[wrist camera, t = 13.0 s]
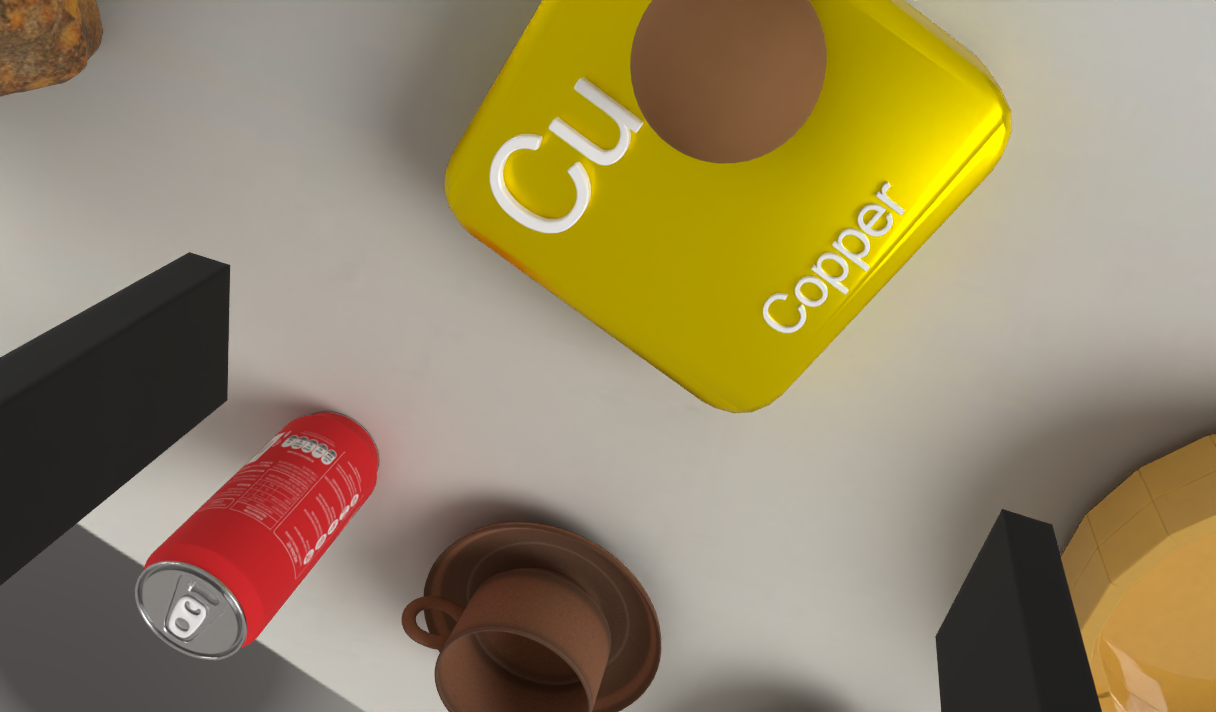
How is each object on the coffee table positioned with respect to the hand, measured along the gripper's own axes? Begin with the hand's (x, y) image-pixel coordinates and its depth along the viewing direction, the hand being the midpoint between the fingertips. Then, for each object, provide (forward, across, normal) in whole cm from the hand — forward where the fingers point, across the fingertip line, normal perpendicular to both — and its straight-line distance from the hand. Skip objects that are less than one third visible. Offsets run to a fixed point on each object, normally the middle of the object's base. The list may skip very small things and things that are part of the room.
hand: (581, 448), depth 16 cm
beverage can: (+23, -15, -21) cm, 34 cm away
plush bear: (+15, -1, +1) cm, 15 cm away
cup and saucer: (+23, -3, -26) cm, 35 cm away
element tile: (+23, -1, -1) cm, 23 cm away
